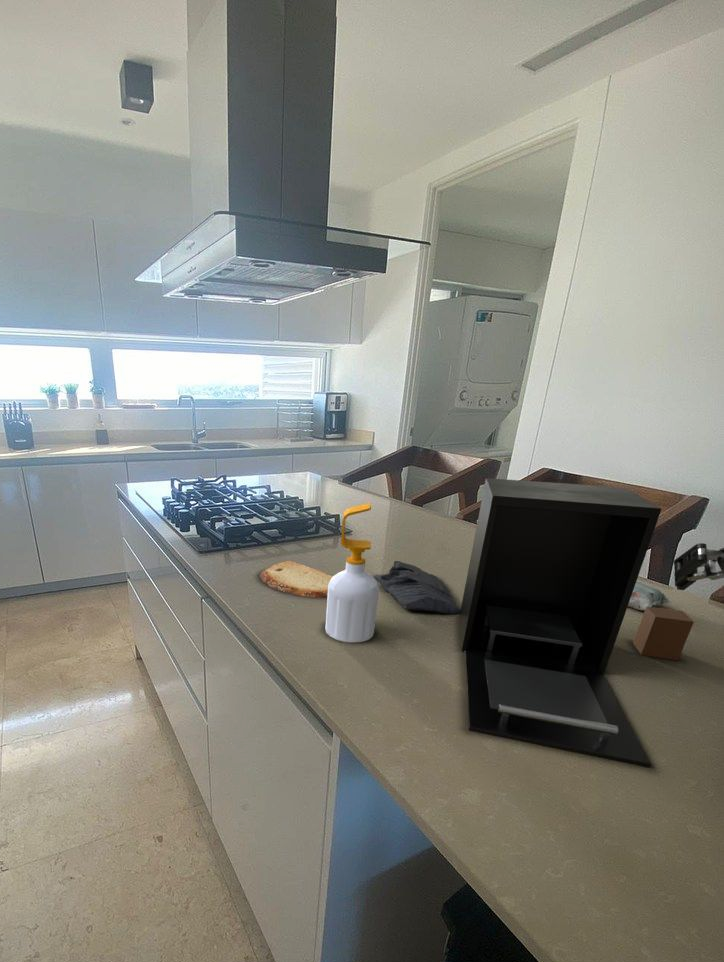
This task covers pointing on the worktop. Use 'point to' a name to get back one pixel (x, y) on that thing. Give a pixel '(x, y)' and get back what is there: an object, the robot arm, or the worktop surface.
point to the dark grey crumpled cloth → (417, 589)
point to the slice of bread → (297, 579)
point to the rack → (531, 627)
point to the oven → (553, 612)
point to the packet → (662, 633)
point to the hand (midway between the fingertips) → (712, 588)
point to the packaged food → (646, 597)
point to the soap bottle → (352, 592)
